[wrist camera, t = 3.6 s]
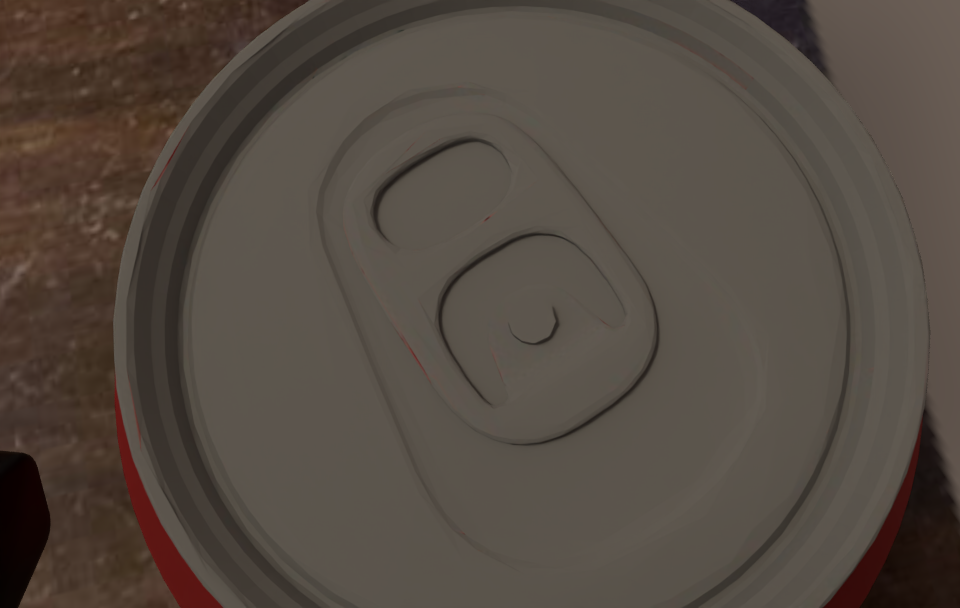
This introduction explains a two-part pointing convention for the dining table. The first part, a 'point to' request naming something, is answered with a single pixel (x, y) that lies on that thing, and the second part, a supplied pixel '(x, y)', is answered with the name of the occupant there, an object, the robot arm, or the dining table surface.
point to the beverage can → (520, 317)
